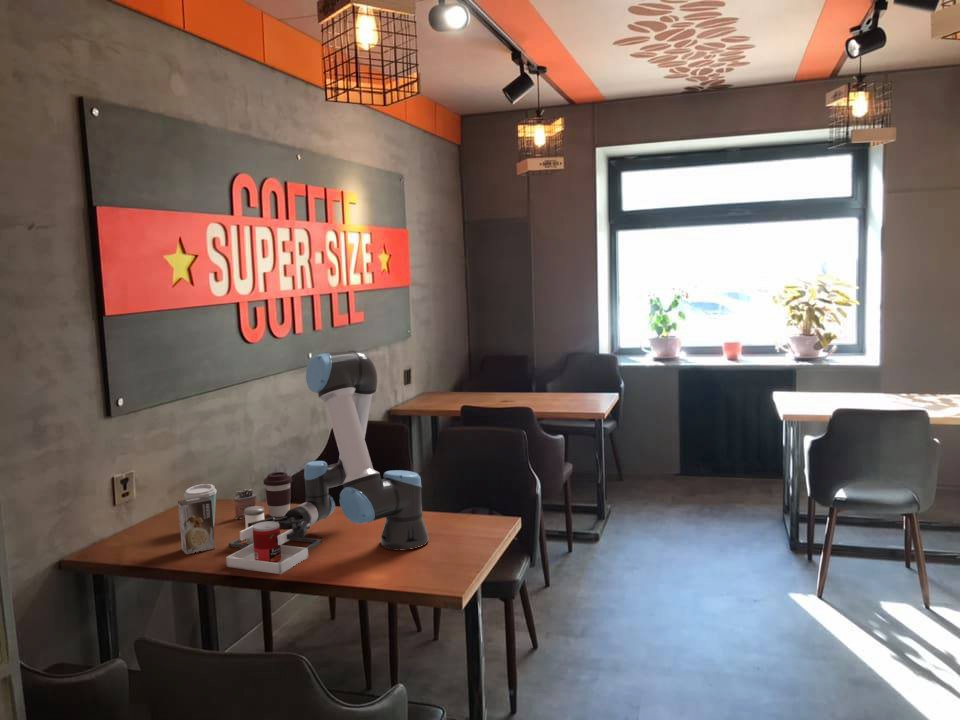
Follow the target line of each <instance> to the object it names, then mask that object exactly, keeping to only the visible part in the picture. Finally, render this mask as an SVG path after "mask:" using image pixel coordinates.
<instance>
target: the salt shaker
mask: <svg viewBox="0 0 960 720" xmlns="http://www.w3.org/2000/svg"><path fill="white" fill-rule="evenodd" d="M244 514H245V519H244V521H245V529H246V528H248V523H252V522H256V521H260V520H264V519H265V506H262V505H261V506H260V505H256V506H253V507H248V508H246V509H244ZM245 541H246V545H247V544H248V545H251V544H253V543H254V542H253V536H251V537H249V538H247V539H246V540H245Z"/></svg>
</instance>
